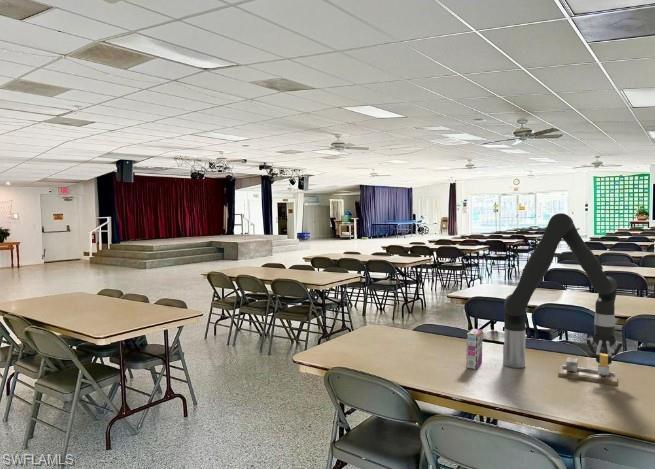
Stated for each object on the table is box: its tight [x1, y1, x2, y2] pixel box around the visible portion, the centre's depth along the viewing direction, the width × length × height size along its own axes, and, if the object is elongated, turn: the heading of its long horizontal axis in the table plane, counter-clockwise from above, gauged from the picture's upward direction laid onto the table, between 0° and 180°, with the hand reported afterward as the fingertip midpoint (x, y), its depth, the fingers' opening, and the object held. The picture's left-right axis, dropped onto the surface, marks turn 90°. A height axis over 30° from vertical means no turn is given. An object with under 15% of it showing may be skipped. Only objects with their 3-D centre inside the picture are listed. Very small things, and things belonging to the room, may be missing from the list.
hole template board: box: [557, 357, 618, 386], centre depth 204 cm, size 22×10×6 cm, turn 59°
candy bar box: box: [465, 328, 484, 371], centre depth 220 cm, size 11×5×16 cm, turn 149°
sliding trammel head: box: [597, 352, 610, 376], centre depth 201 cm, size 4×6×9 cm, turn 149°
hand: (603, 363), depth 201 cm, fingers closed on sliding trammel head, 3 cm apart
